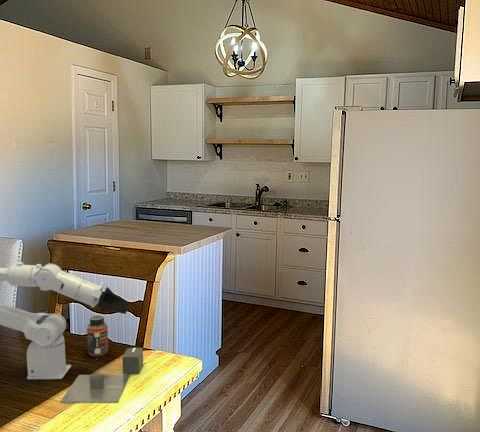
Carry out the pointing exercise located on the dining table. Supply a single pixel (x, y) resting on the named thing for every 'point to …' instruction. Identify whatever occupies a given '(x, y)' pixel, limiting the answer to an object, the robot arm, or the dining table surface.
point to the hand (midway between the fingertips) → (127, 308)
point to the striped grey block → (132, 361)
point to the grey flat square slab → (96, 389)
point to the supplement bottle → (97, 336)
